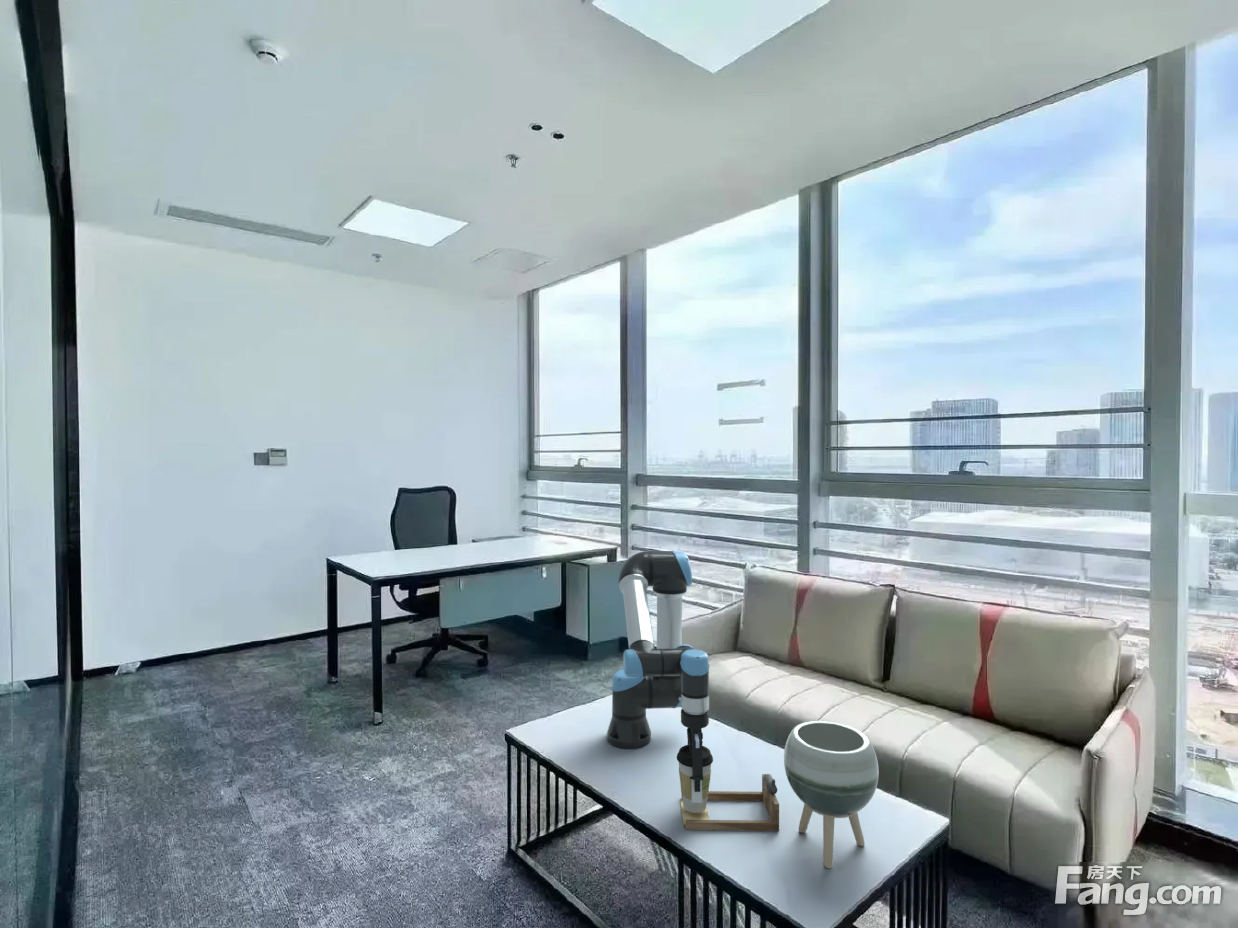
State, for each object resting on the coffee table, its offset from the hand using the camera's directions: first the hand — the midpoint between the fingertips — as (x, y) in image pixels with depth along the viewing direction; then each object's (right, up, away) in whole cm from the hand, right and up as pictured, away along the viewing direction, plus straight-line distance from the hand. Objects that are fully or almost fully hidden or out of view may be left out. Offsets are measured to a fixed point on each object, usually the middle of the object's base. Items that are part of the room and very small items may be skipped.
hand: (694, 790), depth 167 cm
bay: (+9, -6, 0) cm, 11 cm away
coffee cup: (0, -4, 0) cm, 4 cm away
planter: (+32, -6, -15) cm, 36 cm away
